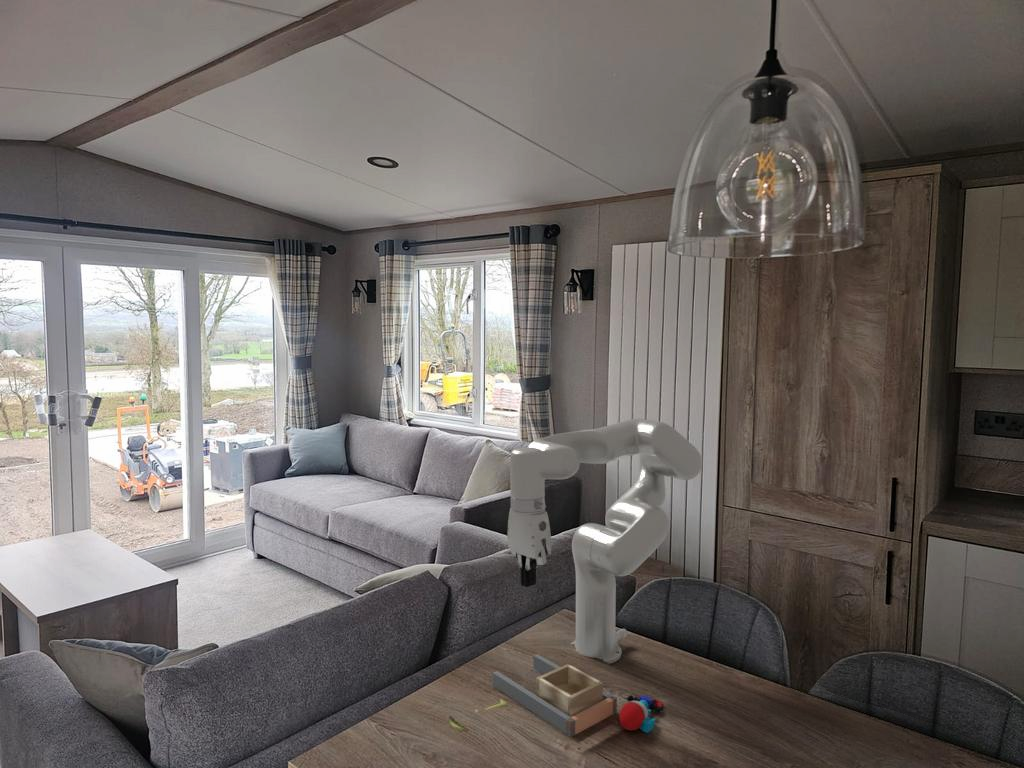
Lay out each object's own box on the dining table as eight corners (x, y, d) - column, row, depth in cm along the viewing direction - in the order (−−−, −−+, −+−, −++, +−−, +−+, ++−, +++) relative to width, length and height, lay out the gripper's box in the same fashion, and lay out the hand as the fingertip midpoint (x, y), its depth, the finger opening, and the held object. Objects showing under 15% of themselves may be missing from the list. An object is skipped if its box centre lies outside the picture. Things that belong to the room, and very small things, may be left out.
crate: (536, 705, 138) (536, 677, 138) (567, 690, 144) (568, 663, 143) (570, 728, 130) (571, 698, 130) (602, 711, 136) (602, 682, 136)
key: (510, 711, 139) (509, 702, 139) (462, 736, 131) (462, 726, 131) (487, 698, 144) (487, 688, 144) (440, 721, 136) (440, 710, 136)
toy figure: (631, 704, 144) (606, 728, 131) (634, 681, 144) (610, 703, 131) (665, 717, 141) (643, 743, 127) (669, 693, 141) (647, 717, 128)
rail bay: (492, 691, 146) (492, 672, 146) (537, 671, 154) (537, 653, 154) (570, 743, 128) (570, 722, 127) (616, 718, 136) (616, 698, 136)
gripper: (563, 507, 145) (564, 590, 147) (518, 494, 156) (519, 571, 158) (537, 514, 140) (538, 599, 142) (493, 500, 152) (494, 579, 153)
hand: (528, 584), depth 150 cm, fingers closed
